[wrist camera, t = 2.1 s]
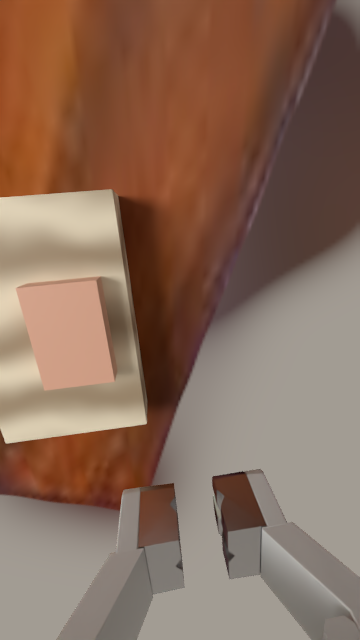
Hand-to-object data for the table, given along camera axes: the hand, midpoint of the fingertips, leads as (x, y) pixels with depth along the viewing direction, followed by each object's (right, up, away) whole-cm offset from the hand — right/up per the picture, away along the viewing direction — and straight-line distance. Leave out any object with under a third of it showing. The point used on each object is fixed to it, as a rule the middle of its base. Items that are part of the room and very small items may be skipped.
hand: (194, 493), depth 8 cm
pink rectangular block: (-10, +4, +16) cm, 19 cm away
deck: (-12, +5, +19) cm, 23 cm away
